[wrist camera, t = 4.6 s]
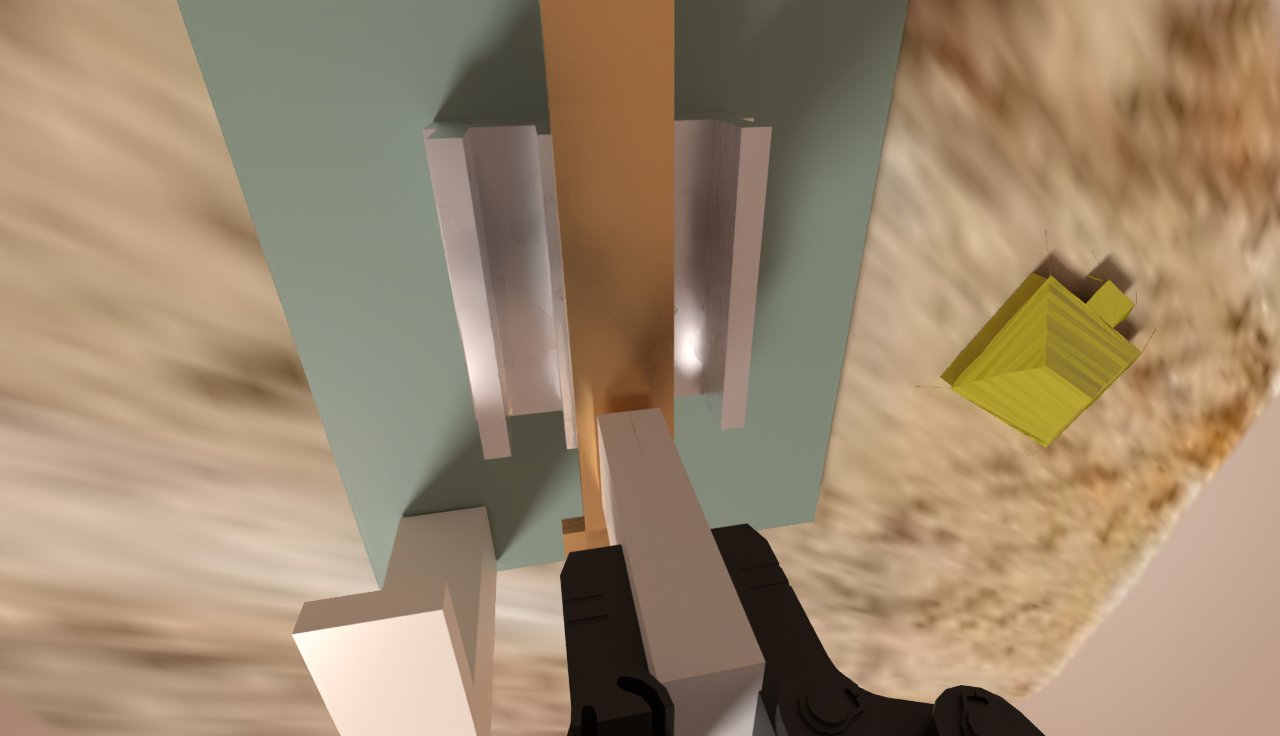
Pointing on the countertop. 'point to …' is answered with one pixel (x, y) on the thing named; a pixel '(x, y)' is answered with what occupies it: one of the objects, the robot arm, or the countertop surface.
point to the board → (415, 258)
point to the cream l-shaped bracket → (412, 635)
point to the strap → (613, 217)
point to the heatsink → (532, 269)
